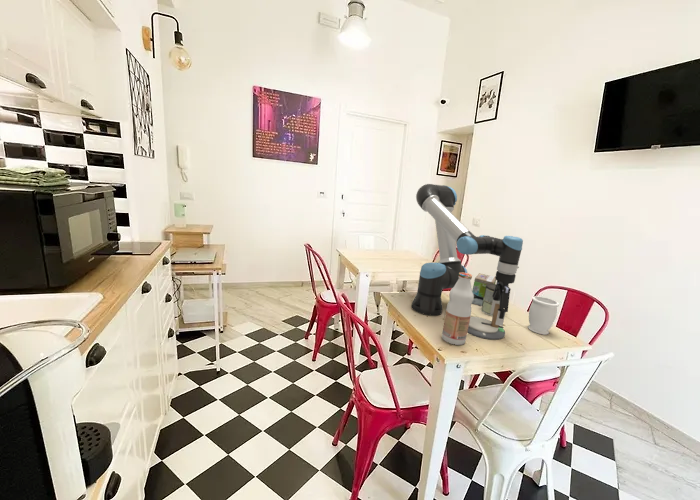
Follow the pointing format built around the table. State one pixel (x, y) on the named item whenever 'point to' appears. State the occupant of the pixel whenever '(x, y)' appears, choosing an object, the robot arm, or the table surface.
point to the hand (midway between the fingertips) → (495, 319)
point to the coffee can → (488, 299)
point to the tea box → (481, 287)
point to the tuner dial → (485, 322)
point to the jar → (542, 314)
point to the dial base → (488, 334)
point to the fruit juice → (458, 311)
